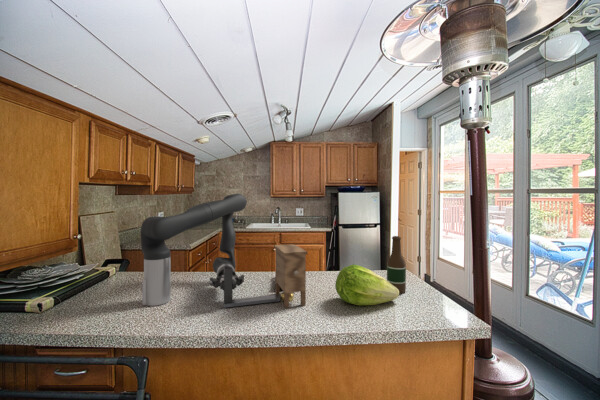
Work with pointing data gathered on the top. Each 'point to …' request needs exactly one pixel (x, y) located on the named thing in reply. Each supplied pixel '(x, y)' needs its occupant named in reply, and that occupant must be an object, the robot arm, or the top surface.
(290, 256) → the walnut cabinet
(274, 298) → the grey l-shaped bracket
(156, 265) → the robot arm
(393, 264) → the beer bottle
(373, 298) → the lettuce
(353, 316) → the top surface
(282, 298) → the brass puck
